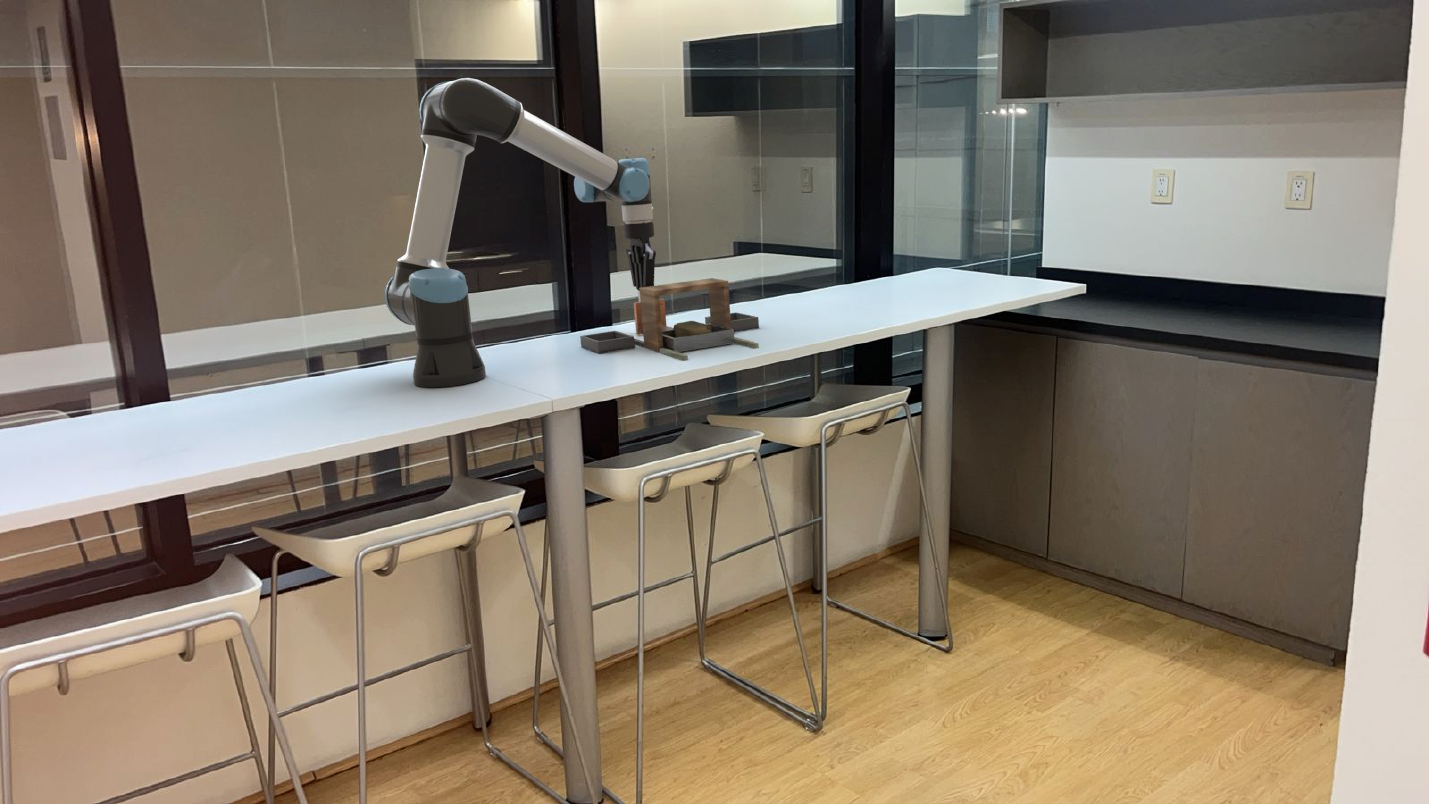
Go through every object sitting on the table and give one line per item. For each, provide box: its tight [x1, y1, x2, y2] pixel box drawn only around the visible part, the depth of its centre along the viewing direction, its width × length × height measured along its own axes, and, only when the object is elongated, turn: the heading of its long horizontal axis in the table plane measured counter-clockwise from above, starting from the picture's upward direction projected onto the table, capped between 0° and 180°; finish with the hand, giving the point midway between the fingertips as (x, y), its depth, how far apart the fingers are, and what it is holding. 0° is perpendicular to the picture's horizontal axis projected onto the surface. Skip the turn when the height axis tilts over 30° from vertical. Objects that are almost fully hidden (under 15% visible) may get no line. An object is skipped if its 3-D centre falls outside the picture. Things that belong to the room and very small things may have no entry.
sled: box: [633, 298, 735, 353], centre depth 255 cm, size 16×30×8 cm, turn 28°
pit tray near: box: [579, 330, 636, 355], centre depth 252 cm, size 9×11×3 cm
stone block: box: [672, 320, 711, 338], centre depth 247 cm, size 6×12×5 cm, turn 25°
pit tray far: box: [704, 311, 760, 333], centre depth 267 cm, size 9×11×3 cm
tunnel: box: [634, 277, 759, 361], centre depth 250 cm, size 19×37×14 cm, turn 28°
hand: (645, 315), depth 269 cm, fingers closed
